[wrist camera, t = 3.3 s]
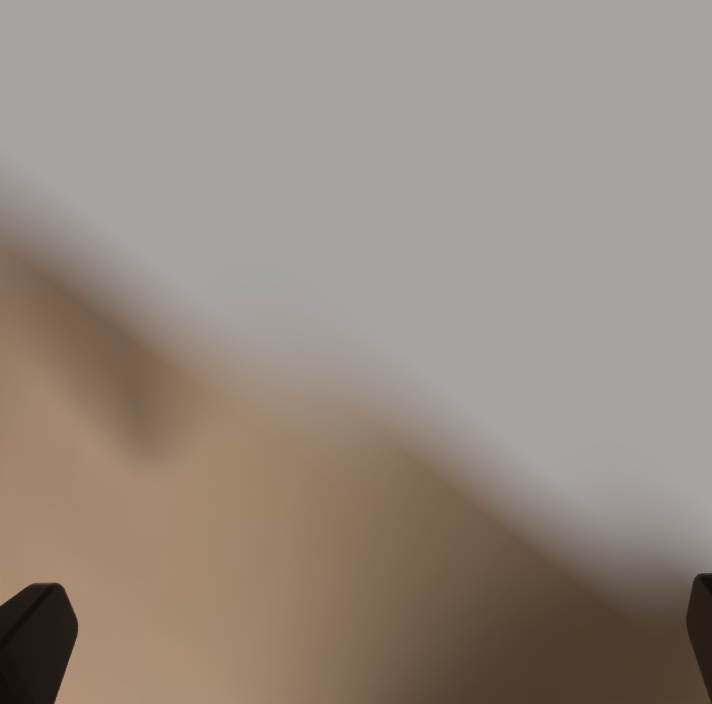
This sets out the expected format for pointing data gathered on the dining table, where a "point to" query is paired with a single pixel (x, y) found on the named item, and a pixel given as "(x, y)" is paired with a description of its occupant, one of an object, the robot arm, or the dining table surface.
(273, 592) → the dining table surface
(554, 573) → the dining table surface
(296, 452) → the dining table surface
